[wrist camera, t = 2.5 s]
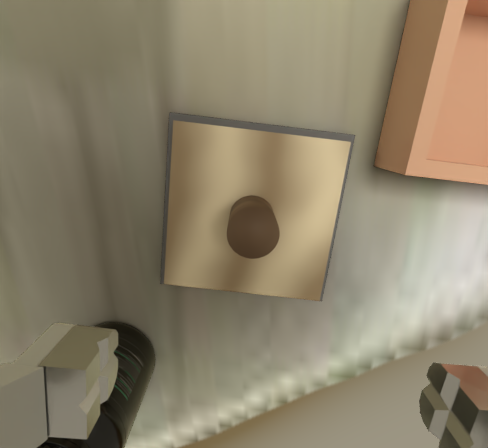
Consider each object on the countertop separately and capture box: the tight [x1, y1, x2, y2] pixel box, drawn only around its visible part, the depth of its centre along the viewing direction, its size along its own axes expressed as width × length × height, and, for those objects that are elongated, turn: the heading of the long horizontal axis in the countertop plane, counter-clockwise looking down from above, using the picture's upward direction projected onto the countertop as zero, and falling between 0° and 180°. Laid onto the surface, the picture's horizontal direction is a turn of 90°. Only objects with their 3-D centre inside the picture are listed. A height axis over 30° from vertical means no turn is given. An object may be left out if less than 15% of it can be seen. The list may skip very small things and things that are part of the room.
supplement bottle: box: [37, 322, 155, 448], centre depth 23 cm, size 7×7×12 cm
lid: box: [164, 120, 351, 301], centre depth 23 cm, size 12×12×5 cm
